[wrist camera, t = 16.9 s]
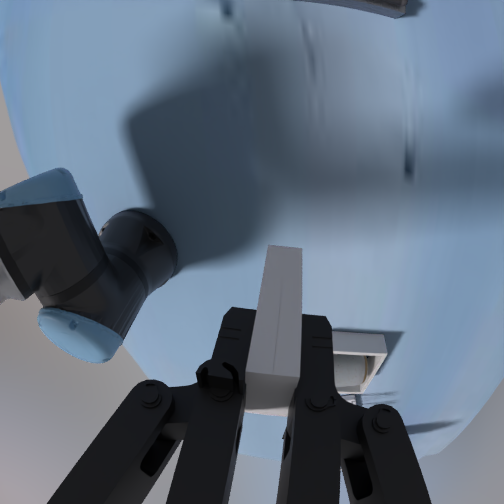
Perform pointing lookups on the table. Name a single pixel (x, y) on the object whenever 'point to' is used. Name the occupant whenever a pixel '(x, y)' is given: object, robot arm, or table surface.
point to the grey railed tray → (397, 2)
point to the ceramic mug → (350, 369)
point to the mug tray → (360, 346)
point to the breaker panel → (367, 6)
